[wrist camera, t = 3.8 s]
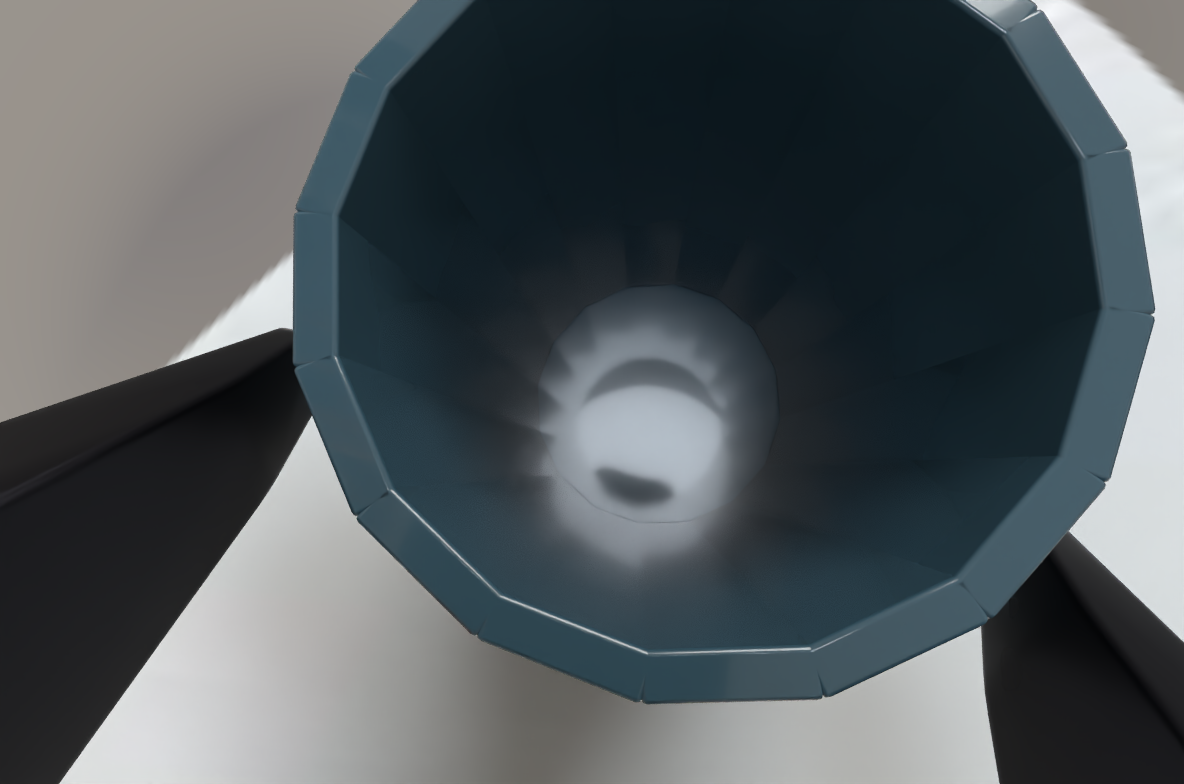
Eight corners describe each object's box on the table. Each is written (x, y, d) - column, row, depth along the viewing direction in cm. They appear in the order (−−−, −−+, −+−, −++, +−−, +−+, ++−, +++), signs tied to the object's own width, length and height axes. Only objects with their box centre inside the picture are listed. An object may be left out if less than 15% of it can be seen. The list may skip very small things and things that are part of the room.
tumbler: (739, 574, 16) (1009, 854, 5) (492, 483, 17) (163, 517, 5) (821, 326, 17) (1248, -4, 5) (578, 247, 18) (461, -203, 6)
